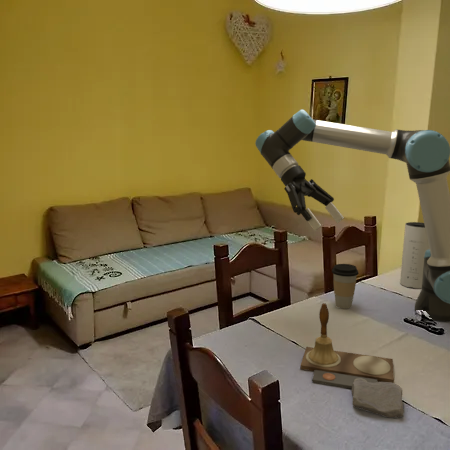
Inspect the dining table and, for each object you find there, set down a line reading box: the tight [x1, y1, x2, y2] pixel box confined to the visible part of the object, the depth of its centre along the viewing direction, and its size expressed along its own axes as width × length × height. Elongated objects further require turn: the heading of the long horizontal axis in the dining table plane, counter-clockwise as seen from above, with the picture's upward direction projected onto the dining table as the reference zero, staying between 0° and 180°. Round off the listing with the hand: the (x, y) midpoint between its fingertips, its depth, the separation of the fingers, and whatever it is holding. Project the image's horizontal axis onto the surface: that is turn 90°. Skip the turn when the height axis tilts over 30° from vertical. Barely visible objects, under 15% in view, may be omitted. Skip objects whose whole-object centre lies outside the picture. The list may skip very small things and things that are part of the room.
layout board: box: [299, 346, 395, 384], centre depth 124 cm, size 24×11×2 cm, turn 71°
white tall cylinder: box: [399, 221, 430, 290], centre depth 183 cm, size 11×10×26 cm
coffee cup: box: [331, 263, 359, 310], centre depth 164 cm, size 9×9×15 cm
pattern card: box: [311, 370, 378, 390], centre depth 116 cm, size 16×5×1 cm, turn 71°
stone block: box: [351, 379, 405, 418], centre depth 107 cm, size 12×5×10 cm
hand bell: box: [308, 303, 338, 365], centre depth 124 cm, size 8×8×16 cm
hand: (329, 224), depth 136 cm, fingers open, 13 cm apart
